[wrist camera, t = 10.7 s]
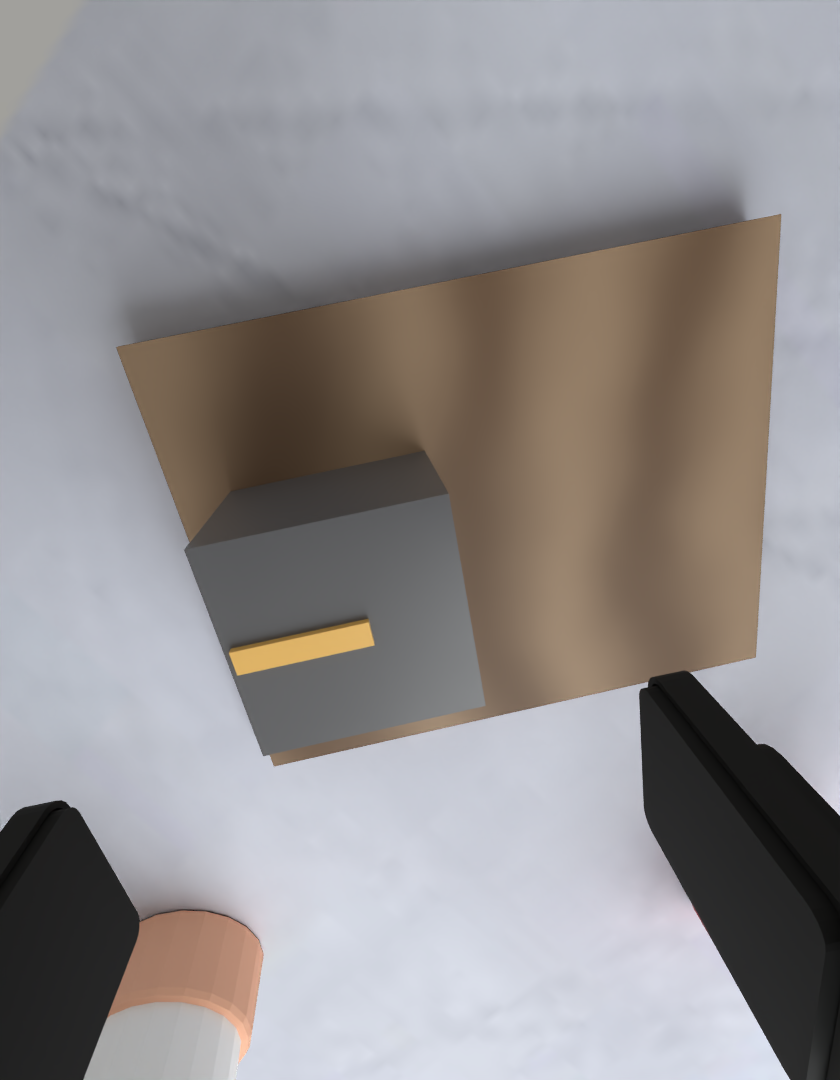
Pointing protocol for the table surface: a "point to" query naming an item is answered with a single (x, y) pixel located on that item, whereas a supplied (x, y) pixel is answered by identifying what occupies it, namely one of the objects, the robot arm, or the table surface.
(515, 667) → the base plate
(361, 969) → the table surface
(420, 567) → the grey cube with stripe
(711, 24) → the table surface
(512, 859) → the table surface
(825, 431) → the table surface
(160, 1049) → the pepper shaker
